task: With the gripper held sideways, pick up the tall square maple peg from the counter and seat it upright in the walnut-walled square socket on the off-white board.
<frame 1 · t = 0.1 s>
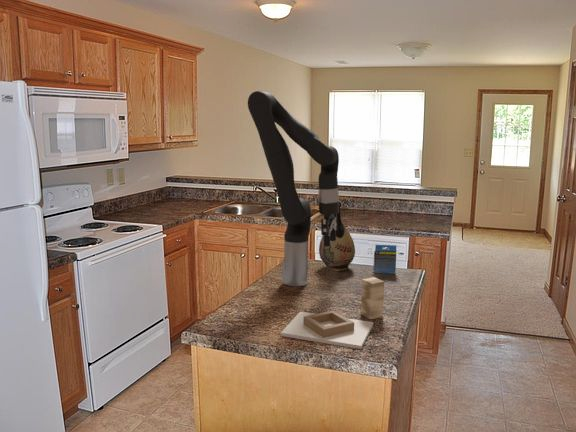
hand: (330, 243, 189), 17 cm above the counter, tool pointing down, fingers open, 8 cm apart
label tape cartridge: (384, 272, 213), on the counter
maple peg: (371, 315, 165), on the counter
socket board: (328, 330, 153), on the counter
ceramic jug: (336, 269, 217), on the counter
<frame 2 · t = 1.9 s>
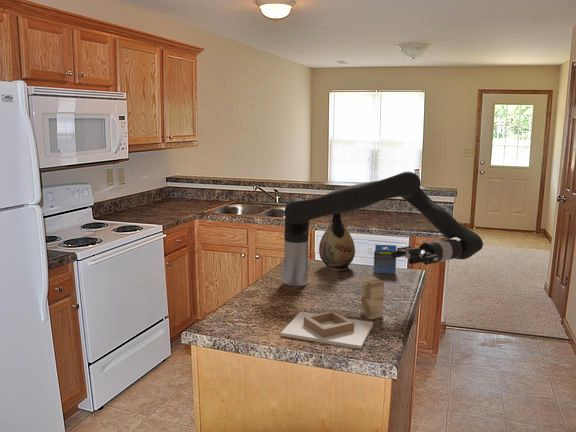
hand: (400, 257, 168), 18 cm above the counter, tool horizontal, fingers open, 8 cm apart
nothing on the counter moved.
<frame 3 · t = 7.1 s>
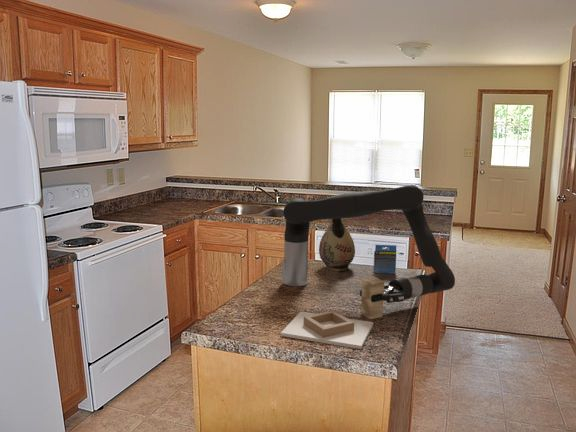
hand: (366, 296, 163), 7 cm above the counter, tool horizontal, fingers closed on maple peg, 5 cm apart
maple peg: (371, 315, 165), on the counter, touching gripper
everything else where it was.
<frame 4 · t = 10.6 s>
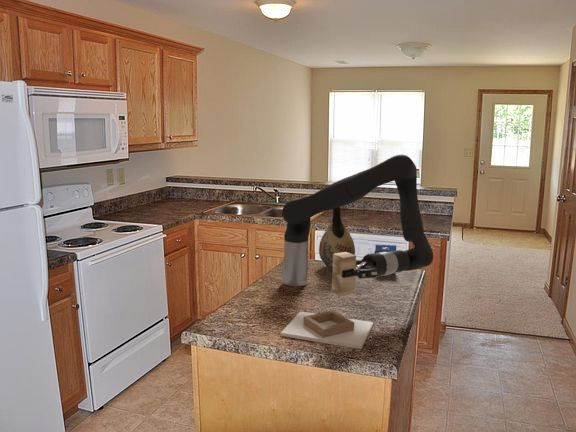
hand: (337, 271, 152), 18 cm above the counter, tool horizontal, fingers closed on maple peg, 5 cm apart
maple peg: (343, 292, 155), point 11 cm above the counter, touching gripper
everything else where it was.
when the fingers open (9 cm above the counter, at t = 14.0 s): maple peg drops 1 cm, resting on socket board.
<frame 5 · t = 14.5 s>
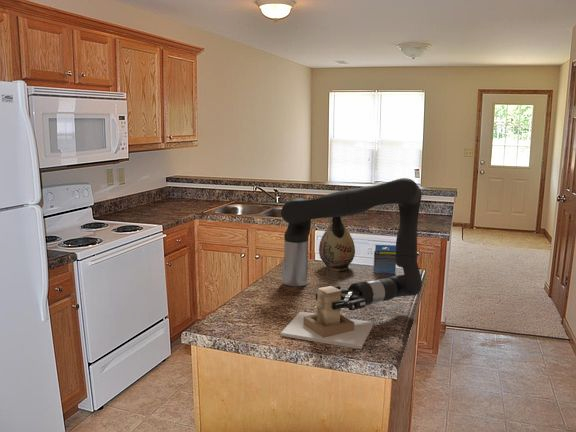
hand: (324, 301, 150), 10 cm above the counter, tool horizontal, fingers open, 8 cm apart
maple peg: (328, 327, 153), point 1 cm above the counter, touching socket board
everything else where it was.
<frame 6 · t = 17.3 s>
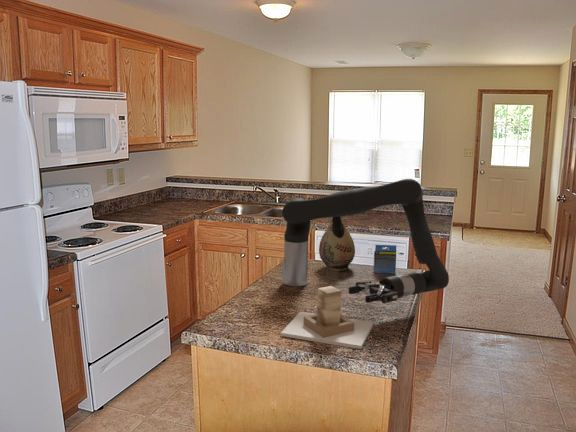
hand: (357, 295, 157), 10 cm above the counter, tool horizontal, fingers open, 8 cm apart
nothing on the counter moved.
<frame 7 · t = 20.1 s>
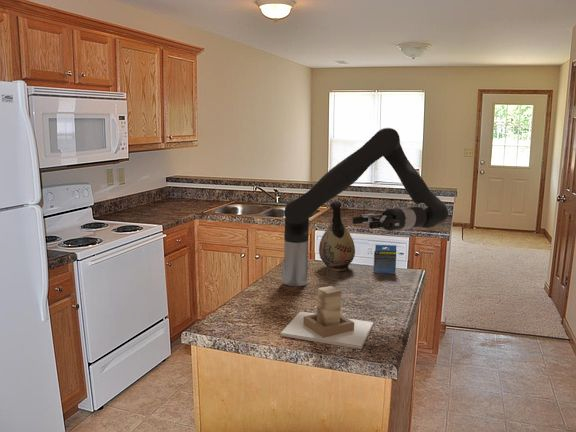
hand: (361, 223, 164), 30 cm above the counter, tool horizontal, fingers open, 8 cm apart
nothing on the counter moved.
at the end: maple peg 0.1 cm off-centre on the socket board, point 1.0 cm above the socket board's base; maple peg tilted 0°; the gripper is holding nothing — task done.
